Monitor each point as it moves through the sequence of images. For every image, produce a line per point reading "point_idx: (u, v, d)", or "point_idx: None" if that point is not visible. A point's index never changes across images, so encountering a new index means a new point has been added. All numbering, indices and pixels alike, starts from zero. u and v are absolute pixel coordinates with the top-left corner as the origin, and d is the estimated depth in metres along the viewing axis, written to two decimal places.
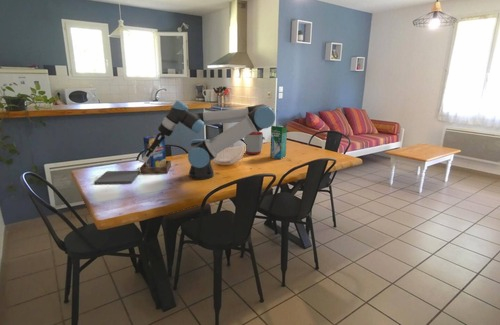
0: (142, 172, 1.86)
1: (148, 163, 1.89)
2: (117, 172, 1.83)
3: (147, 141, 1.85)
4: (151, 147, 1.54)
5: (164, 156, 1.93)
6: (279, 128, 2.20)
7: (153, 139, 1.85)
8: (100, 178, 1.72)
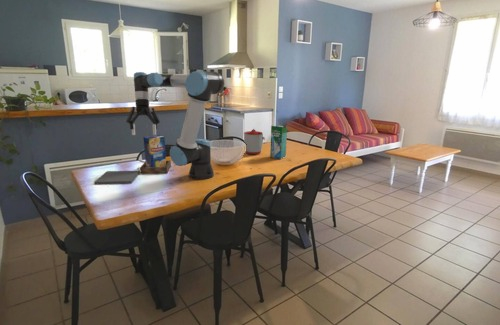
0: (142, 172, 1.86)
1: (148, 163, 1.89)
2: (117, 172, 1.83)
3: (147, 141, 1.85)
4: None
5: (164, 156, 1.93)
6: (279, 128, 2.20)
7: (153, 139, 1.85)
8: (100, 178, 1.72)
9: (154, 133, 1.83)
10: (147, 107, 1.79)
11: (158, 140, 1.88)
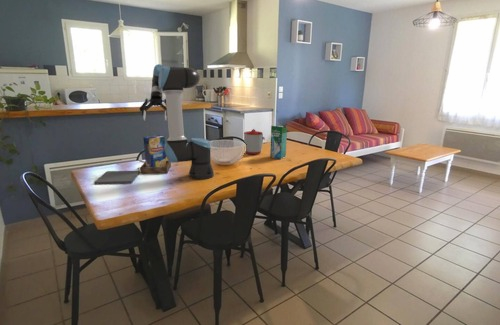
0: (142, 172, 1.86)
1: (148, 163, 1.89)
2: (117, 172, 1.83)
3: (147, 141, 1.85)
4: None
5: (164, 156, 1.93)
6: (279, 128, 2.20)
7: (153, 139, 1.85)
8: (100, 178, 1.72)
9: None
10: (160, 98, 2.02)
11: (158, 140, 1.88)
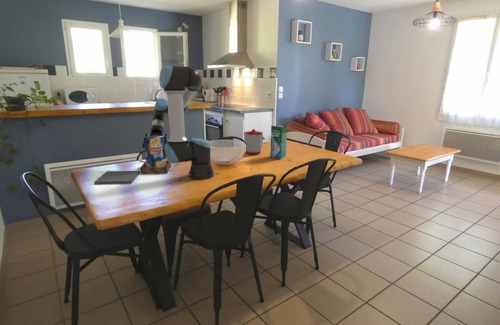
0: (142, 172, 1.86)
1: (149, 163, 1.89)
2: (117, 172, 1.83)
3: (148, 141, 1.84)
4: None
5: (164, 156, 1.94)
6: (279, 128, 2.20)
7: (154, 139, 1.85)
8: (100, 178, 1.72)
9: None
10: (160, 132, 1.97)
11: (159, 140, 1.88)
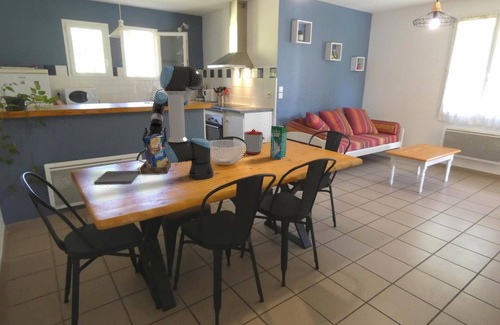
0: (142, 172, 1.86)
1: (150, 163, 1.89)
2: (117, 172, 1.83)
3: (148, 141, 1.84)
4: None
5: (165, 155, 1.94)
6: (279, 128, 2.20)
7: (154, 139, 1.85)
8: (100, 178, 1.72)
9: (160, 149, 1.88)
10: (160, 126, 1.96)
11: (159, 139, 1.88)
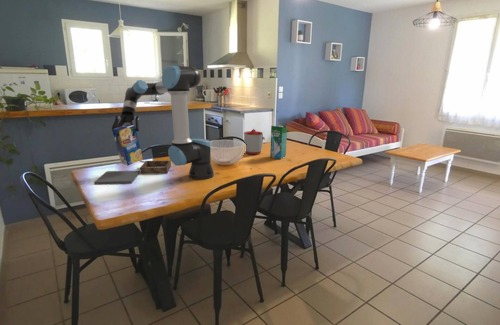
0: (142, 172, 1.86)
1: (122, 156, 1.77)
2: (117, 172, 1.83)
3: (117, 133, 1.71)
4: None
5: (138, 146, 1.82)
6: (279, 128, 2.20)
7: (123, 130, 1.72)
8: (100, 178, 1.72)
9: None
10: (132, 114, 1.82)
11: (129, 130, 1.75)
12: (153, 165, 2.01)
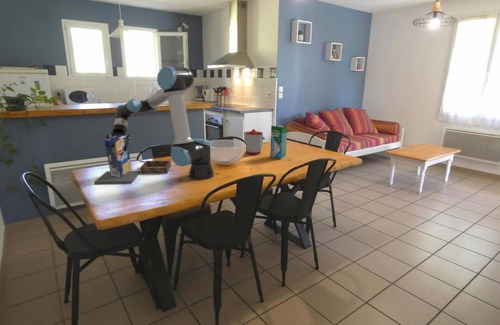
0: (142, 172, 1.86)
1: (115, 167, 1.73)
2: None
3: (112, 145, 1.67)
4: None
5: (128, 156, 1.80)
6: (279, 128, 2.20)
7: (118, 141, 1.69)
8: (100, 178, 1.72)
9: None
10: (123, 132, 1.79)
11: (122, 141, 1.73)
12: (153, 165, 2.01)
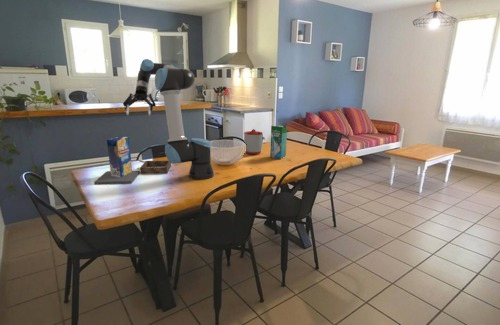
0: (142, 172, 1.86)
1: (115, 167, 1.74)
2: None
3: (114, 143, 1.70)
4: None
5: (129, 158, 1.82)
6: (279, 128, 2.20)
7: (120, 140, 1.72)
8: (100, 178, 1.72)
9: None
10: (144, 93, 1.97)
11: (124, 141, 1.76)
12: (153, 165, 2.01)
